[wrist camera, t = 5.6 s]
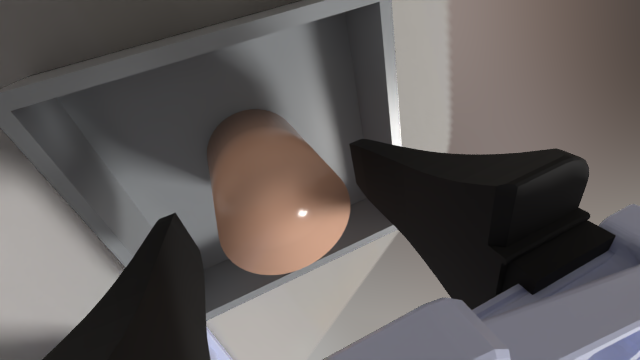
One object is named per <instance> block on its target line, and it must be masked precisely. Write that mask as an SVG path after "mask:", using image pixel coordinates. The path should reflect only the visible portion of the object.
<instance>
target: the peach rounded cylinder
mask: <svg viewBox="0 0 640 360" xmlns="http://www.w3.org/2000/svg"><path fill="white" fill-rule="evenodd" d="M207 162H208V169H209V175H210V182H211V189H212V196H213V202H214V209H215V216H216V222H217V229H218V236H219V241H220V244H221V247H222V249H223V251H224V253H225V254H226V256H227V257H228V258H229V259H230V260H231V261H232V262H233V263H234V264H235V265H237V266H238V267H240V268H242V269H244V270H246V271H249V272H252V273H255V274H260V275H280V274H286V273H290V272H294V271H297V270H300V269H302V268H304V267H307V266H309V265H310V264H312V263H314V262H315V261H317V260H319V259H320V258H321V257H323V256H324V255H325V254H326V253H327V252H328V251H329V250H330V249H332V247H333V246H334V245H335V244H336V243H337V241H338V240H339V239H340V237H341V236H342V234H343V232H344V230H345V228H346V226H347V223H348V220H349V216H350V196H349V193H348V190H347V188H346V186H345V184H344V182H343V181H342V180H341V178H340V177H339V176H338V175H337V174H336V173H335V172H334V171H333V170H332V169H331V168H330V166H329V165H328V164H327V163H326V162H325V161H324V160H323V159H322V158H321V157H320V156H319V155H318V154H317V153H316V152H315V150H314V149H313V148H312V147H311V146H310V145H309V144H308V143H307V142H306V141H305V140H304V139H303V138H302V137H301V135H300V134H299V133H298V132H297V131H296V130H295V129H294V128H293V127H292V126H291V125H290V124H289V123H288V122H287V121H286V120H285V119H284V118H282V117H281V116H279V115H278V114H276V113H273V112H271V111H267V110H261V109H250V110H244V111H241V112H238V113H235V114H233V115H231V116H229V117H228V118H226V119H225V120H224V121H222V122H221V123H220V124H219V125H218V126H217V128H216V129H215V130H214V132H213V133H212V135H211V137H210V140H209V143H208V147H207Z"/></svg>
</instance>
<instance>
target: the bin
mask: <svg viewBox="0 0 640 360" xmlns="http://www.w3.org/2000/svg"><path fill="white" fill-rule="evenodd" d="M250 109H261V110H267V111H271V112H273V113H276V114H278V115H279V116H281V117H282V118H284V119H285V120H286V121H287V122H288V123H289V124H290V125H291V126H292V127H293V128H294V129H295V130H296V131H297V132H298V133H299V134H300V135H301V137H302V138H303V139H304V140H305V141H306V142H307V143H308V144H309V145H310V146H311V147H312V148H313V149H314V150H315V152H316V153H317V154H318V155H319V156H320V157H321V158H322V159H323V160H324V161H325V162H326V163H327V164H328V165H329V166H330V168H331V169H332V170H333V171H334V172H335V173H336V174H337V175H338V176H339V177H340V178H341V180H342V181H343V182H344V184H345V186H346V188H347V190H348V193H349V196H350V216H349V220H348V223H347V226H346V228H345V230H344V232H343V234H342V236H341V237H340V239H339V240H338V241H337V243H336V244H335V245H334V246H333V247H332V249H330V250H329V251H328V252H327V253H326V254H325V255H324V256H323V257H321V258H320V259H319V260H317V261H315V262H314V263H312V264H310V265H309V266H307V267H304V268H302V269H300V270H297V271H294V272H290V273H286V274H280V275H260V274H255V273H252V272H249V271H246V270H244V269H242V268H240V267H238V266H237V265H235V264H234V263H233V262H232V261H231V260H230V259H229V258H228V257H227V256H226V254H225V253H224V251H223V249H222V247H221V244H220V241H219V236H218V229H217V222H216V216H215V209H214V202H213V196H212V189H211V182H210V175H209V169H208V162H207V147H208V143H209V140H210V137H211V135H212V133H213V132H214V130H215V129H216V128H217V126H218V125H219V124H220V123H221V122H222V121H224V120H225V119H226V118H228V117H229V116H231V115H233V114H235V113H238V112H241V111H244V110H250ZM0 128H1V129H2V130H3V131H4V133H5V134H6V135H7V136H8V137H9V138H10V139H11V140H12V142H13V143H14V144H15V145H16V146H17V147H18V148H19V149H20V150H21V152H22V153H23V154H24V155H25V156H26V157H27V158H28V159H29V160H30V162H31V163H32V164H33V165H34V166H35V167H36V168H37V169H38V170H39V172H40V173H41V174H42V175H43V176H44V177H45V178H46V179H47V180H48V182H49V183H50V184H51V185H52V186H53V187H54V188H55V189H56V191H57V192H58V193H59V194H60V195H61V196H62V197H63V198H64V199H65V201H66V202H67V203H68V204H69V205H70V206H71V207H72V208H73V209H74V211H75V212H76V213H77V214H78V215H79V216H80V217H81V218H82V219H83V221H84V222H85V223H86V224H87V225H88V226H89V227H90V228H91V229H92V231H93V232H94V233H95V234H96V235H97V236H98V237H99V238H100V240H101V241H102V242H103V243H104V244H105V245H106V246H107V247H108V248H109V250H110V251H111V252H112V253H113V254H114V255H115V256H116V257H117V258H118V260H119V261H120V262H121V263H122V264H123V265H124V266H125V267H126V266H127V265H128V264H129V262H130V261H131V260H132V258H133V257H134V255H135V254H136V252H137V251H138V249H139V248H140V246H141V245H142V243H143V242H144V240H145V238H146V237H147V235H148V234H149V232H150V231H151V229H152V228H153V226H154V225H155V223H156V222H157V221H158V220H159V219H160V218H163V217H165V216H168V215H170V214H173V213H176V214H177V216H178V217H179V219H180V220H181V222H182V223H183V225H184V226H185V228H186V229H187V231H188V233H189V234H190V236H191V237H192V239H193V240H194V242H195V243H196V245H197V246H198V248H199V250H200V253H201V258H202V263H203V269H204V278H205V304H206V321H207V320H209V319H211V318H213V317H215V316H217V315H220V314H222V313H224V312H226V311H228V310H230V309H232V308H234V307H236V306H238V305H240V304H243V303H245V302H247V301H249V300H251V299H253V298H255V297H257V296H259V295H261V294H264V293H266V292H268V291H270V290H272V289H274V288H276V287H278V286H280V285H282V284H284V283H287V282H289V281H291V280H293V279H295V278H297V277H299V276H301V275H303V274H305V273H307V272H310V271H312V270H314V269H316V268H318V267H320V266H322V265H324V264H326V263H328V262H331V261H333V260H335V259H337V258H339V257H341V256H343V255H345V254H347V253H349V252H351V251H354V250H356V249H358V248H360V247H362V246H364V245H366V244H368V243H370V242H372V241H375V240H377V239H379V238H381V237H383V236H385V235H387V234H389V233H391V232H393V231H395V230H398V229H397V228H396V227H395V226H394V225H393V224H392V223H391V222H390V221H389V220H388V219H387V218H386V217H385V216H384V215H383V214H382V213H381V212H380V211H379V210H378V209H377V208H376V207H375V206H374V205H373V204H372V203H371V202H370V201H369V200H368V199H367V197H366V196H365V195H364V193H363V192H362V191H361V189H360V188H359V186H358V185H357V184H356V179H355V173H354V168H353V162H352V157H351V151H350V146H349V144H350V143H352V142H355V141H357V140H360V139H369V140H374V141H378V142H383V143H387V144H392V145H396V146H401V147H402V145H401V130H400V116H399V101H398V86H397V71H396V57H395V42H394V27H393V13H392V0H301V1H297V2H294V3H290V4H287V5H283V6H279V7H276V8H272V9H269V10H265V11H262V12H258V13H254V14H251V15H247V16H244V17H240V18H236V19H233V20H229V21H226V22H222V23H219V24H215V25H211V26H208V27H204V28H201V29H197V30H193V31H190V32H186V33H183V34H179V35H176V36H172V37H168V38H165V39H161V40H158V41H154V42H150V43H147V44H143V45H140V46H136V47H133V48H129V49H125V50H122V51H118V52H115V53H111V54H107V55H104V56H100V57H97V58H93V59H89V60H86V61H82V62H79V63H75V64H72V65H68V66H64V67H61V68H57V69H54V70H50V71H46V72H43V73H39V74H36V75H32V76H29V77H27V78H24V79H22V80H20V81H17V82H15V83H13V84H10V85H8V86H6V87H4V88H1V89H0Z"/></svg>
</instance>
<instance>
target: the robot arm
mask: <svg viewBox="0 0 640 360" xmlns="http://www.w3.org/2000/svg"><path fill="white" fill-rule="evenodd" d="M349 146H350V151H351V157H352V162H353V168H354V173H355V179H356V184H357V185H358V186H359V188H360V189H361V191H362V192H363V193H364V195H365V196H366V197H367V199H368V200H369V201H370V202H371V203H372V204H373V205H374V206H375V207H376V208H377V209H378V210H379V211H380V212H381V213H382V214H383V215H384V216H385V217H386V218H387V219H388V220H389V221H390V222H391V223H392V224H393V225H394V226H395V227H396V228H397V229H398V230H399V231H400V232H401V233H402V234H403V235H404V236H405V237H406V239H407V240H408V241H409V242H410V243H411V245H412V246H413V247H414V248H415V250H416V251H417V252H418V253H419V255H420V256H421V257H422V258H423V260H424V261H425V262H426V264H427V265H428V266H429V268H430V269H431V270H432V272H433V273H434V274H435V275H436V277H437V278H438V280H439V281H440V283H441V284H442V285H443V287H444V288H445V290H446V291H447V292H448V294H449V295H450V297H451V298H440V299H437V300H434V301H432V302H429V303H426V304H423V305H421V306H420V307H418V308H416V309H414V310H412V311H410V312H409V313H407V314H405V315H403V316H401V317H399V318H398V319H396V320H394V321H392V322H390V323H389V324H387V325H385V326H383V327H381V328H379V329H378V330H376V331H374V332H372V333H370V334H368V335H367V336H365V337H363V338H361V339H359V340H357V341H356V342H354V343H352V344H350V345H348V346H347V347H345V348H343V349H341V350H339V351H337V352H335V353H334V354H332V355H330V356H328V357H326V358H324V359H323V360H640V206H638V205H635V204H632V205H628V206H626V207H625V208H623V209H621V210H619V211H617V212H616V213H614V214H612V215H610V216H609V217H607V218H606V219H604V220H603V221H602V222H601V223H600V225H599V226H597V225H595V224H593V223H591V222H590V221H587V220H588V219H589V218H590V214H589V213H588V212H586V211H584V210H582V209H580V208H578V206H579V204H580V201H581V198H582V196H583V193H584V190H585V187H586V184H587V181H588V177H589V167H588V164H587V163H586V161H585V160H584V159H583V158H581V157H578V156H575V155H573V154H570V153H568V152H565V151H563V150H559V149H549V150H540V151H532V152H523V153H510V154H492V155H491V154H490V155H465V154H448V153H437V152H429V151H423V150H416V149H411V148H406V147H401V146H396V145H392V144H387V143H383V142H378V141H374V140H369V139H360V140H357V141H355V142H352V143H350V144H349ZM42 360H233V359H232V358H231V356H230V355H229V354H228V353H227V351H226V350H225V349H224V348H223V346H222V345H221V344H220V343H219V341H218V340H217V339H216V338H215V336H214V335H213V334H212V333H211V331H210V330H209V329H208V328H207V326H206V304H205V278H204V269H203V263H202V258H201V253H200V250H199V248H198V246H197V245H196V243H195V242H194V240H193V239H192V237H191V236H190V234H189V233H188V231H187V229H186V228H185V226H184V225H183V223H182V222H181V220H180V219H179V217H178V216H177V214H176V213H173V214H170V215H168V216H165V217H163V218H160V219H159V220H158V221H157V222H156V223H155V225H154V226H153V228H152V229H151V231H150V232H149V234H148V235H147V237H146V238H145V240H144V242H143V243H142V245H141V246H140V248H139V249H138V251H137V252H136V254H135V255H134V257H133V258H132V260H131V261H130V262H129V264H128V265H127V266H126V268H125V269H124V271H123V272H122V273H121V275H120V276H119V277H118V279H117V280H116V282H115V283H114V284H113V285H112V287H111V288H110V289H109V290H108V292H107V293H106V294H105V295H104V297H103V298H102V299H101V300H100V301H99V302H98V303H97V305H96V306H95V307H94V308H93V309H92V310H91V311H90V313H89V314H88V315H87V316H86V317H85V318H84V319H83V320H82V321H81V322H80V323H79V324H78V325H77V326H76V327H75V328H74V329H73V330H72V331H71V332H70V333H69V334H68V335H67V336H66V337H65V338H64V339H63V340H62V341H61V342H60V343H59V344H58V345H57V346H56V347H55V348H54V349H53V350H52V351H51V352H50V353H49V354H48V355H47V356H46V357H44V358H43V359H42Z"/></svg>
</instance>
